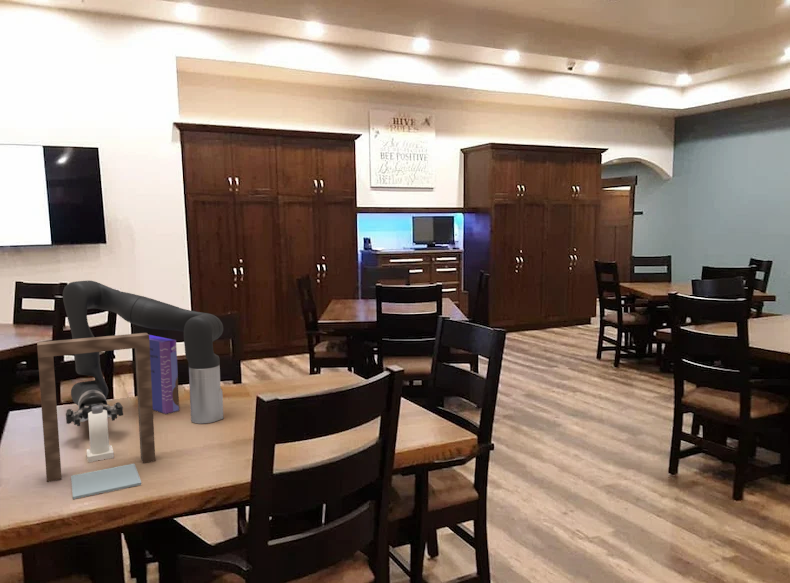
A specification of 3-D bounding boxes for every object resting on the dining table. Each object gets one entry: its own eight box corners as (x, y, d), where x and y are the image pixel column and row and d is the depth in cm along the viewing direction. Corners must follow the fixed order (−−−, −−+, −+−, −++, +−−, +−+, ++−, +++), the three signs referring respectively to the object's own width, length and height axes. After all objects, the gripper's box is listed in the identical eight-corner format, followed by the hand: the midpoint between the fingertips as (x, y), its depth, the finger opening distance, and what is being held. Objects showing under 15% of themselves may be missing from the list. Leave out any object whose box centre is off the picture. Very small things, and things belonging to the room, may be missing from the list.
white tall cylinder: (111, 450, 154) (108, 402, 153) (113, 457, 149) (110, 407, 148) (86, 454, 151) (83, 405, 150) (88, 462, 146) (84, 411, 145)
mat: (134, 465, 144) (134, 463, 144) (141, 484, 133) (141, 482, 133) (71, 478, 137) (70, 475, 137) (72, 499, 126) (72, 497, 126)
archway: (153, 455, 151) (146, 332, 147) (155, 460, 147) (149, 335, 144) (46, 475, 138) (37, 342, 135) (46, 482, 135) (37, 345, 131)
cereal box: (179, 410, 189) (176, 339, 186) (165, 414, 185) (162, 341, 182) (151, 401, 199) (148, 333, 197) (138, 404, 196) (134, 335, 193)
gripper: (64, 396, 166) (65, 410, 153) (118, 389, 174) (124, 402, 160) (66, 421, 167) (67, 437, 153) (119, 413, 175) (125, 428, 161)
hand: (96, 419), depth 157 cm, fingers open, 8 cm apart
